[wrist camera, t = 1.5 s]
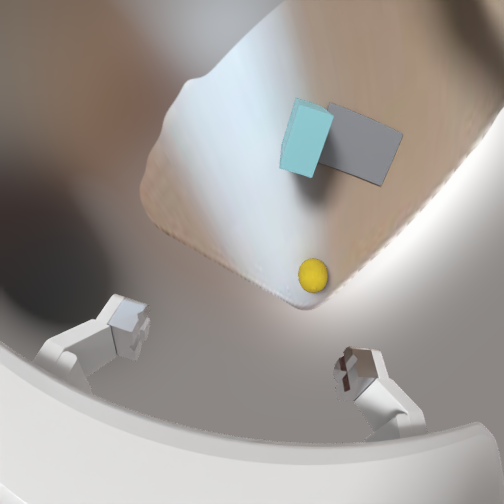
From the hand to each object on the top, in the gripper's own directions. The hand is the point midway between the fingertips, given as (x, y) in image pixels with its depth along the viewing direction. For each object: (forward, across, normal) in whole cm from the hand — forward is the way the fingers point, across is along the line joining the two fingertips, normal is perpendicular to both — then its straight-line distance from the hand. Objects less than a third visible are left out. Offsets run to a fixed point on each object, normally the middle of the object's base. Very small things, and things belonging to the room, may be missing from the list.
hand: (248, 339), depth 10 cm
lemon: (+39, -13, +18) cm, 45 cm away
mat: (+36, -13, -7) cm, 38 cm away
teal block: (+36, -4, -7) cm, 37 cm away
